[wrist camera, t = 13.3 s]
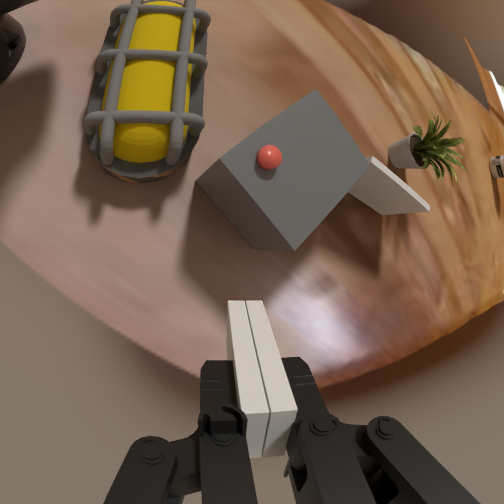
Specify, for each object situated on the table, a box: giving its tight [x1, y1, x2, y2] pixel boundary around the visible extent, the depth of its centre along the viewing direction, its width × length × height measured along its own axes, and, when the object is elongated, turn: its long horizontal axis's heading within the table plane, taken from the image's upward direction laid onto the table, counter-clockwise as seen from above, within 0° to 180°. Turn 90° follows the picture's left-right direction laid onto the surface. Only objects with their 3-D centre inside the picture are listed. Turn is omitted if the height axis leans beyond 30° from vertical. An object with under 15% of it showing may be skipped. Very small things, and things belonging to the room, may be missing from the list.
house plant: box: [388, 112, 466, 184], centre depth 44 cm, size 14×14×16 cm
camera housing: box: [196, 89, 370, 251], centre depth 35 cm, size 12×18×12 cm
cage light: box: [83, 0, 211, 183], centre depth 30 cm, size 15×8×30 cm
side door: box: [348, 156, 430, 215], centre depth 42 cm, size 2×15×11 cm, turn 69°
